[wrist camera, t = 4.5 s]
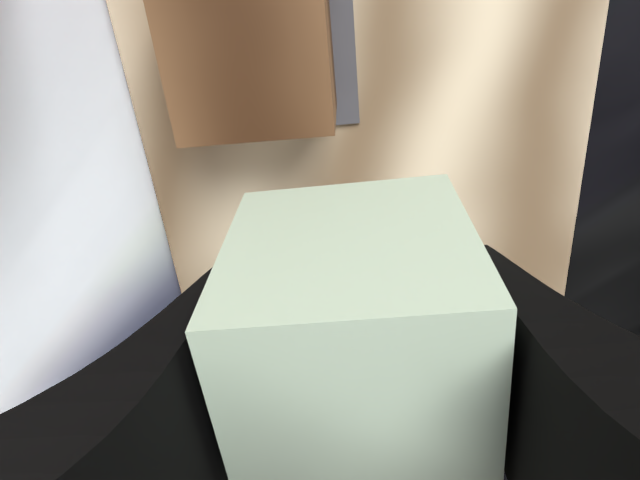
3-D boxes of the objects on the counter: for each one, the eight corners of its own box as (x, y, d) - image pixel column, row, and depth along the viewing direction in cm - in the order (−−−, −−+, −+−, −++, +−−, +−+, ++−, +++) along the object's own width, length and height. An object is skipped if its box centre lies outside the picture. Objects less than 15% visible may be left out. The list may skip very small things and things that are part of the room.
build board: (627, -189, 14) (642, -198, 14) (547, 362, 23) (554, 374, 23) (82, -122, 16) (70, -127, 15) (208, 376, 25) (204, 388, 24)
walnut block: (325, -45, 16) (320, -52, 12) (336, 103, 18) (335, 135, 14) (182, -30, 16) (135, -31, 12) (209, 114, 18) (176, 148, 14)
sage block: (446, 173, 11) (517, 308, 7) (446, 337, 13) (499, 521, 9) (244, 193, 11) (185, 332, 7) (274, 348, 14) (243, 531, 9)
